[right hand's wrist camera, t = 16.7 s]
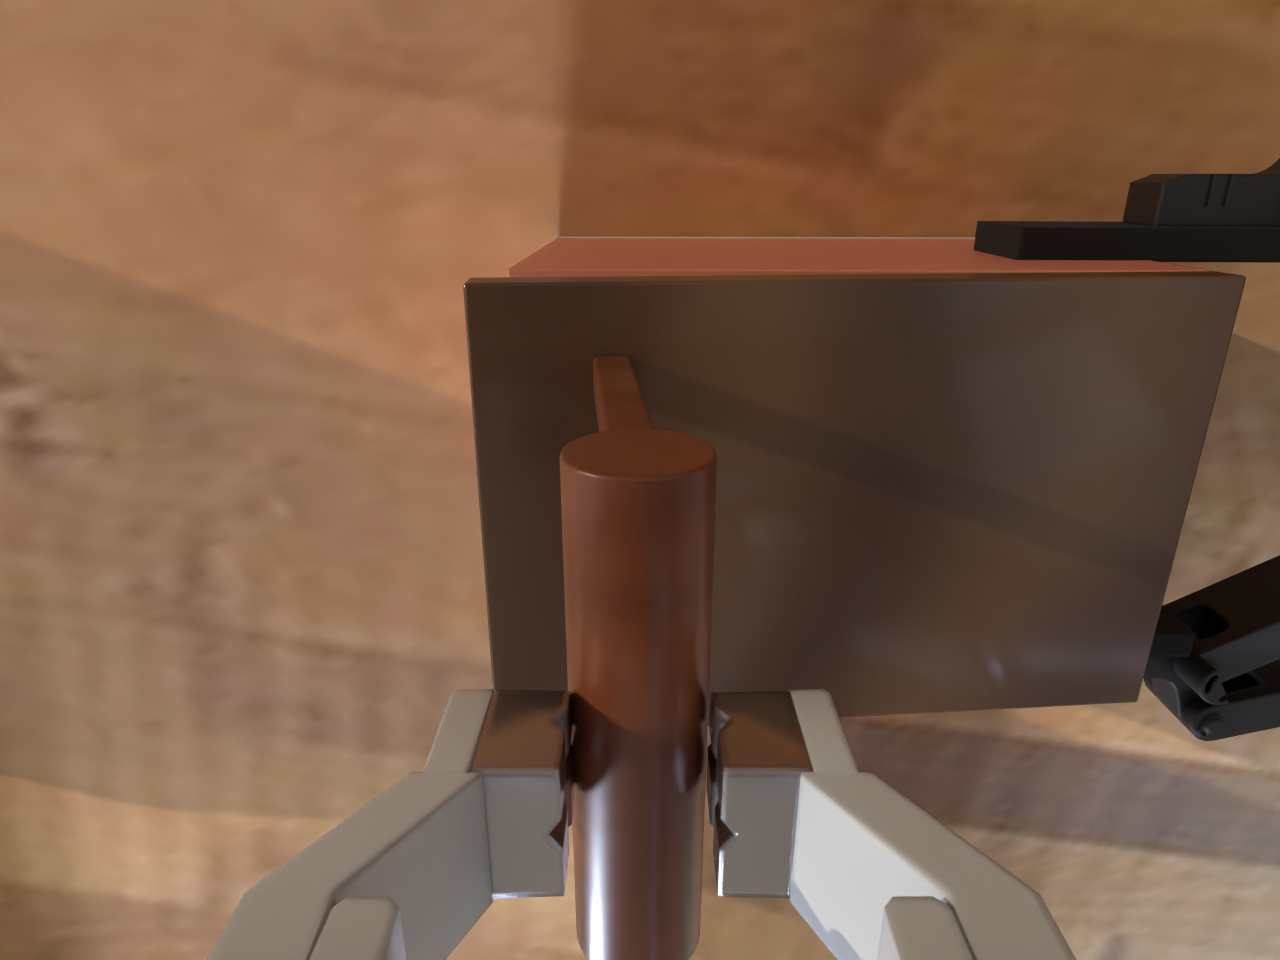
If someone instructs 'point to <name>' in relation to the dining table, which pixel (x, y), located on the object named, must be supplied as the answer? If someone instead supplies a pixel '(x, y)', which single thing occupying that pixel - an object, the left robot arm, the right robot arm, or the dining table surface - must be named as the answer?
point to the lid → (819, 515)
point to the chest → (791, 257)
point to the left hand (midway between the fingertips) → (964, 445)
